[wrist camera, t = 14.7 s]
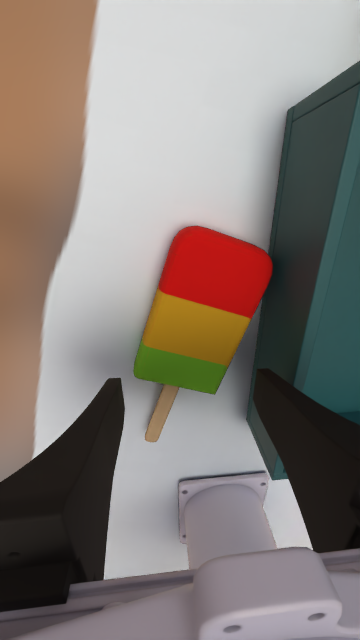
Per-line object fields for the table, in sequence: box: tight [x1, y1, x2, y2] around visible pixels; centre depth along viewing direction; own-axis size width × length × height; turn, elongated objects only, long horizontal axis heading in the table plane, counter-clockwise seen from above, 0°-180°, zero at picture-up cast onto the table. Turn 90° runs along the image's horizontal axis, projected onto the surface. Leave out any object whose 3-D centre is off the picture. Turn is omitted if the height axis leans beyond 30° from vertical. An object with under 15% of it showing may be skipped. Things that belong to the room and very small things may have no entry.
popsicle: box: [133, 226, 273, 442], centre depth 16 cm, size 6×15×2 cm, turn 161°
